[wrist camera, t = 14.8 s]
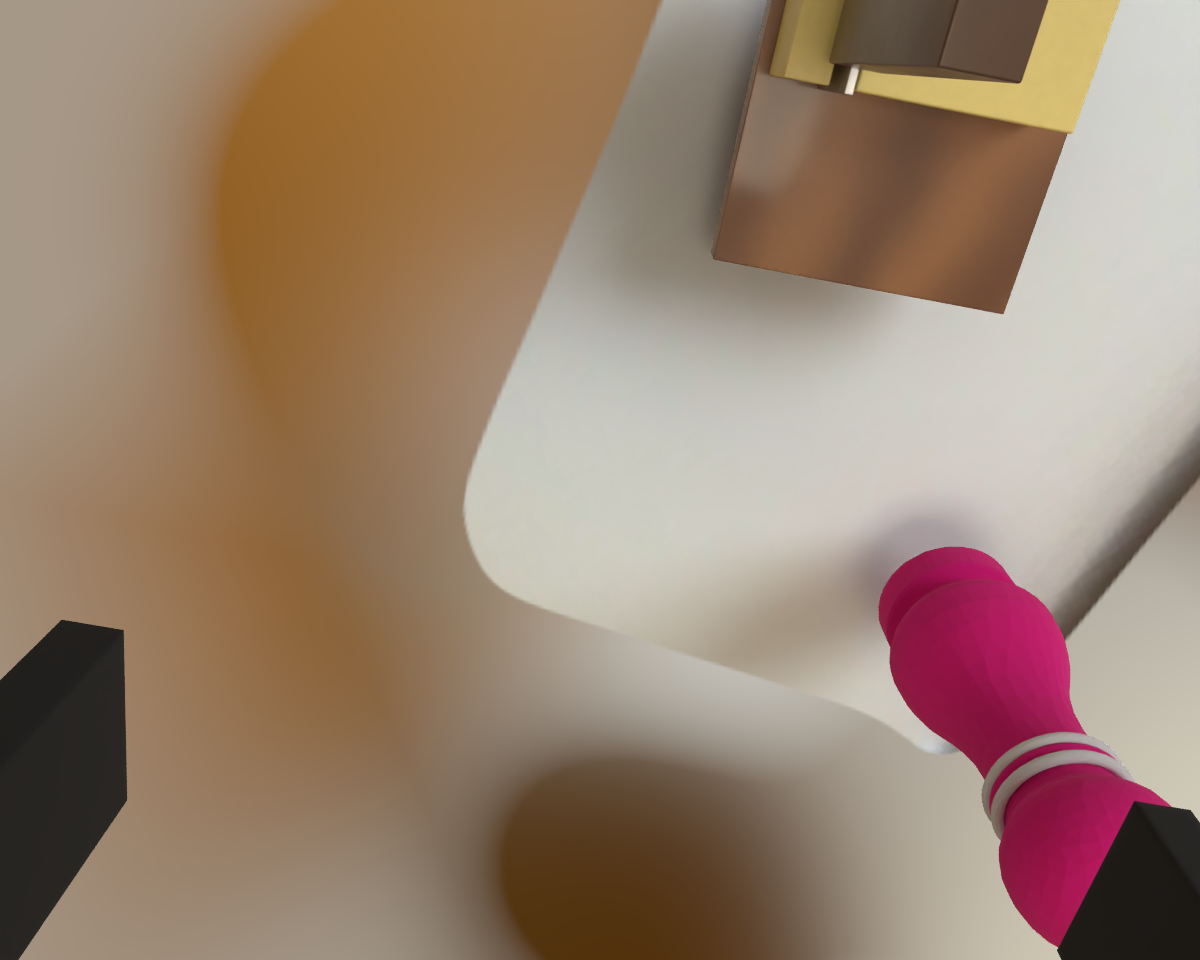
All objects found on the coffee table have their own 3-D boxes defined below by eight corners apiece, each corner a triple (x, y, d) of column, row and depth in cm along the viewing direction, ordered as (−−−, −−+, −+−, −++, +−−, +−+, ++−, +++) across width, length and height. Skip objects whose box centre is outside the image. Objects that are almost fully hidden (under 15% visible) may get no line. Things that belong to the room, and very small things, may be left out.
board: (710, 252, 40) (713, 259, 39) (784, -76, 35) (790, -81, 34) (991, 305, 41) (1003, 314, 39) (1101, -11, 36) (1120, -13, 35)
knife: (797, 85, 36) (924, 108, 20) (832, -61, 34) (1004, -160, 18) (844, 94, 36) (1008, 124, 20) (883, -51, 34) (1096, -141, 18)
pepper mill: (1013, 658, 48) (1264, 1050, 30) (864, 669, 48) (1024, 1063, 30) (1027, 529, 45) (1318, 878, 27) (869, 541, 45) (1050, 895, 27)
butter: (768, 74, 36) (783, 77, 32) (800, -62, 34) (820, -76, 31) (1029, 126, 36) (1073, 134, 33) (1073, -6, 35) (1126, -13, 31)
